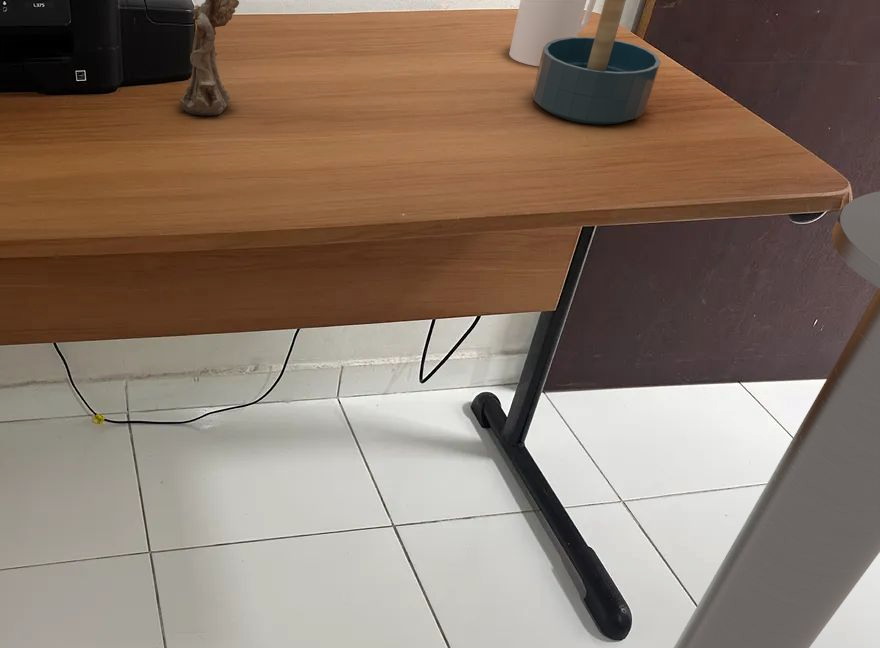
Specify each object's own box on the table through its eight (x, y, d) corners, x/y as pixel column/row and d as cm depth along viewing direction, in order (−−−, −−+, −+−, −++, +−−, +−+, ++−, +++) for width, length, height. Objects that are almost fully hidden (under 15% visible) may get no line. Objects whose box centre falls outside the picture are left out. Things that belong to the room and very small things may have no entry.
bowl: (663, 125, 104) (681, 71, 100) (558, 129, 102) (572, 74, 98) (612, 86, 113) (627, 35, 109) (515, 89, 112) (526, 38, 108)
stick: (600, 104, 107) (637, -27, 97) (582, 105, 107) (618, -27, 97) (591, 97, 108) (628, -32, 99) (574, 98, 108) (609, -32, 99)
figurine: (189, 94, 108) (187, -47, 98) (238, 98, 107) (241, -43, 97) (176, 117, 103) (173, -30, 92) (228, 121, 102) (230, -26, 92)
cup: (604, 57, 122) (627, -25, 115) (538, 70, 117) (558, -15, 110) (561, 40, 127) (581, -40, 120) (496, 52, 122) (513, -31, 116)
